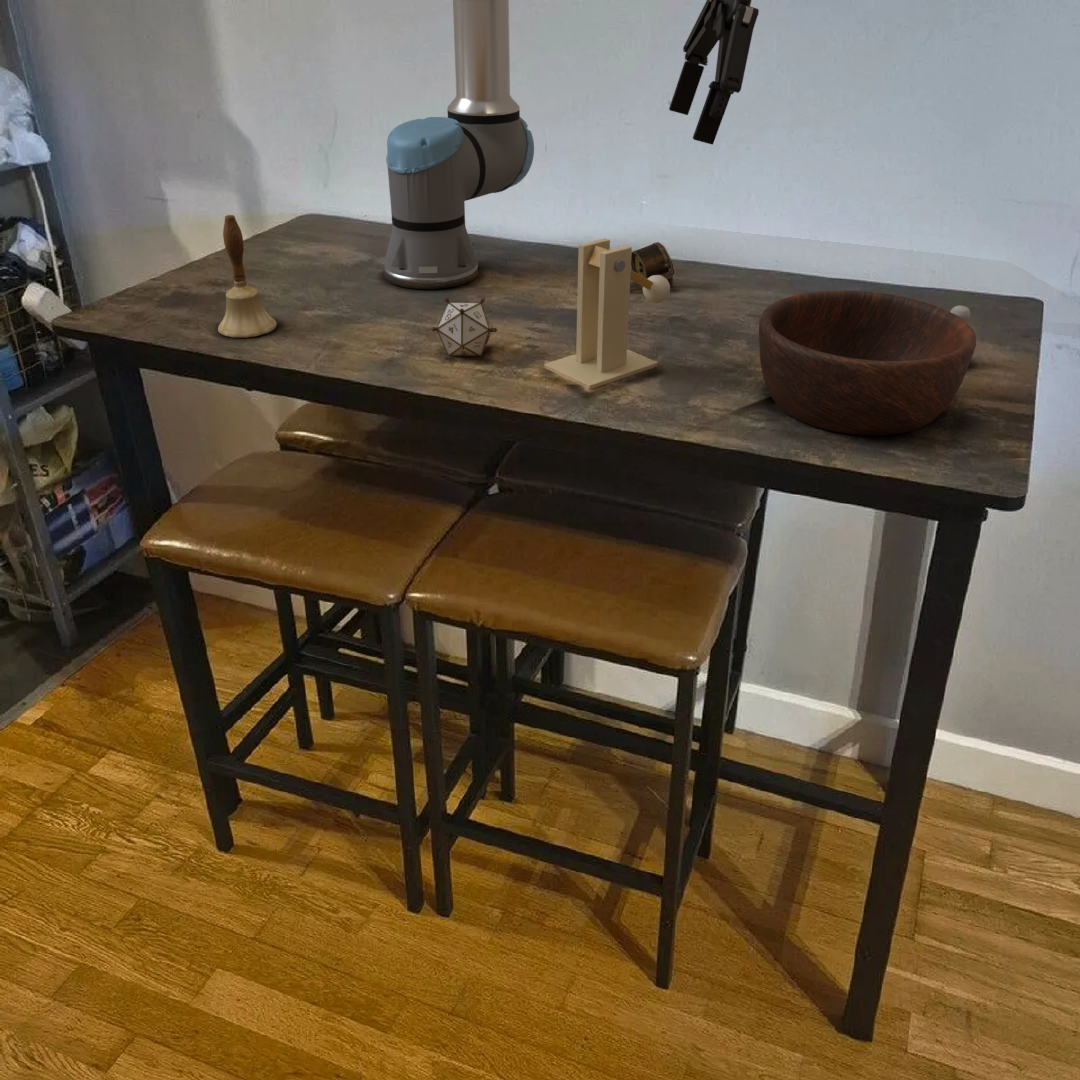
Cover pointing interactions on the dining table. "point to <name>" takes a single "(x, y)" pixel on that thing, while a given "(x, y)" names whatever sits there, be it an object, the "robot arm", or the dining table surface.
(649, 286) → the lever
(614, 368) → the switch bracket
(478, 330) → the game die
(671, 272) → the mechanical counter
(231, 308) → the hand bell
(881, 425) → the wooden bowl
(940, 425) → the dining table surface
